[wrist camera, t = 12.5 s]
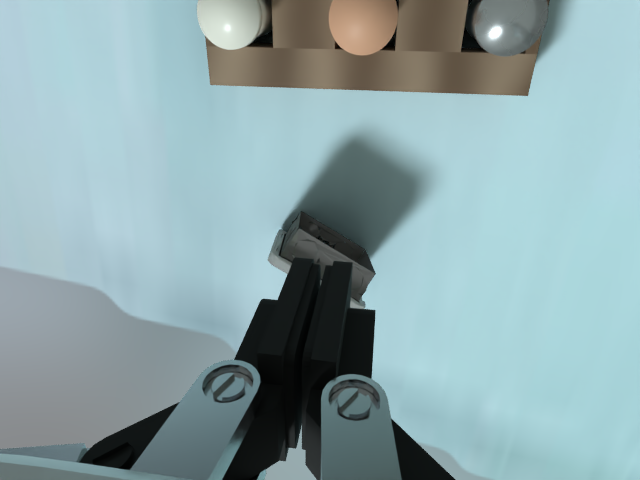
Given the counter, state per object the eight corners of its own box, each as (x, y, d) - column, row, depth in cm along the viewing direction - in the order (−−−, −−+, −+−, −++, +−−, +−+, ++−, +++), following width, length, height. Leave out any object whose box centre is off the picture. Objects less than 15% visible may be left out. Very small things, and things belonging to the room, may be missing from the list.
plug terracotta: (398, -17, 31) (401, -22, 25) (393, 46, 33) (394, 56, 27) (340, -18, 32) (329, -23, 26) (338, 45, 34) (328, 54, 28)
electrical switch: (275, 233, 45) (256, 277, 36) (301, 193, 43) (286, 229, 34) (352, 278, 46) (350, 330, 38) (380, 241, 44) (385, 287, 36)
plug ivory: (280, -17, 34) (256, -22, 28) (282, 42, 36) (260, 50, 30) (227, -18, 34) (193, -22, 28) (232, 41, 36) (201, 49, 30)
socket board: (545, -64, 31) (566, -72, 27) (514, 86, 35) (527, 95, 32) (214, -62, 33) (194, -69, 30) (226, 77, 38) (210, 84, 35)
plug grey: (523, -16, 32) (556, -20, 26) (511, 47, 34) (538, 57, 28) (464, -16, 32) (482, -21, 26) (455, 46, 34) (469, 55, 28)
